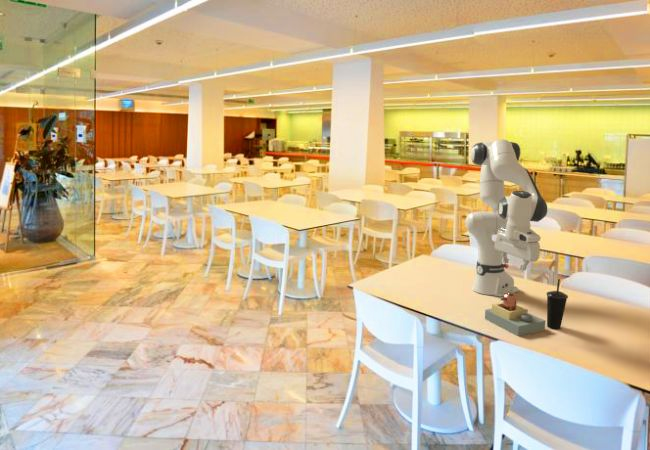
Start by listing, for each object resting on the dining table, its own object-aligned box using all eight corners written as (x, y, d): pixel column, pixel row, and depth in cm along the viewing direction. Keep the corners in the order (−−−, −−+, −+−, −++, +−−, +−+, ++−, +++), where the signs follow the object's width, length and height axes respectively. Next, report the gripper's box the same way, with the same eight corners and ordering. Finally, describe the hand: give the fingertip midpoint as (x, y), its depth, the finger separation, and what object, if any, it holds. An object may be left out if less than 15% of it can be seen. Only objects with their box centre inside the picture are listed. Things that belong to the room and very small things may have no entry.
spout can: (509, 310, 197) (510, 290, 195) (518, 314, 192) (520, 294, 191) (496, 313, 194) (497, 292, 192) (505, 317, 190) (506, 296, 188)
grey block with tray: (510, 313, 204) (511, 298, 202) (544, 330, 188) (546, 313, 186) (484, 318, 198) (486, 302, 197) (517, 336, 182) (519, 318, 181)
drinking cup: (539, 323, 194) (544, 276, 190) (557, 322, 195) (562, 276, 191) (549, 331, 187) (555, 282, 183) (568, 330, 187) (574, 282, 183)
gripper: (492, 227, 195) (489, 259, 199) (531, 239, 177) (527, 274, 180) (504, 226, 198) (501, 258, 201) (544, 237, 180) (540, 272, 183)
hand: (514, 266), depth 191 cm, fingers open, 8 cm apart
